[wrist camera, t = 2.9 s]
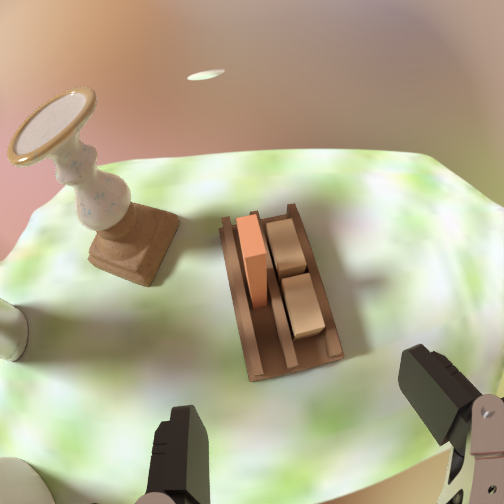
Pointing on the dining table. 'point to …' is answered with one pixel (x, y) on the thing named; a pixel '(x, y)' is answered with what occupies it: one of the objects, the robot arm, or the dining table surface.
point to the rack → (276, 310)
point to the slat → (254, 259)
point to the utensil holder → (21, 483)
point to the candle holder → (95, 189)
